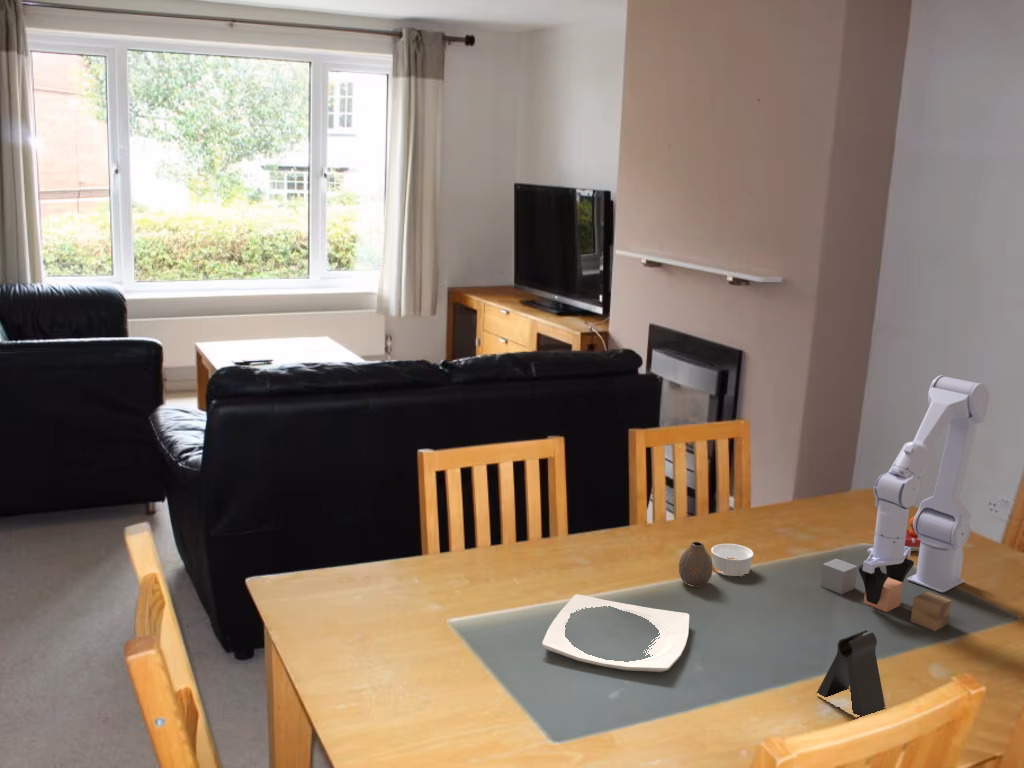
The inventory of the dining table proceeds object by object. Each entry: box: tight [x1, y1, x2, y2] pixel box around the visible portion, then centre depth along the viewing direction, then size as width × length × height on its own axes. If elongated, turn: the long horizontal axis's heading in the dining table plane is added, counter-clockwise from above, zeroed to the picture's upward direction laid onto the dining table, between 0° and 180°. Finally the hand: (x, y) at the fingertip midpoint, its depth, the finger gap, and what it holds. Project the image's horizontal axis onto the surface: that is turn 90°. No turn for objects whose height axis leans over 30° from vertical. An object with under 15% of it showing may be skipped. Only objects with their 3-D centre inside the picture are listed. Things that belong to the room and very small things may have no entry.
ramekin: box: [710, 543, 754, 576], centre depth 212 cm, size 9×9×4 cm
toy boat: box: [905, 515, 921, 553], centre depth 228 cm, size 8×12×8 cm, turn 88°
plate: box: [541, 593, 690, 673], centre depth 180 cm, size 24×24×3 cm
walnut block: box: [910, 591, 952, 632], centre depth 190 cm, size 5×5×5 cm
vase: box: [678, 541, 714, 587], centre depth 204 cm, size 7×7×9 cm
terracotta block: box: [863, 577, 904, 613], centre depth 198 cm, size 5×5×5 cm
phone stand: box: [816, 629, 887, 718], centre depth 160 cm, size 9×6×12 cm, turn 34°
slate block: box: [819, 558, 858, 595], centre depth 205 cm, size 5×5×5 cm
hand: (882, 597), depth 198 cm, fingers open, 7 cm apart
